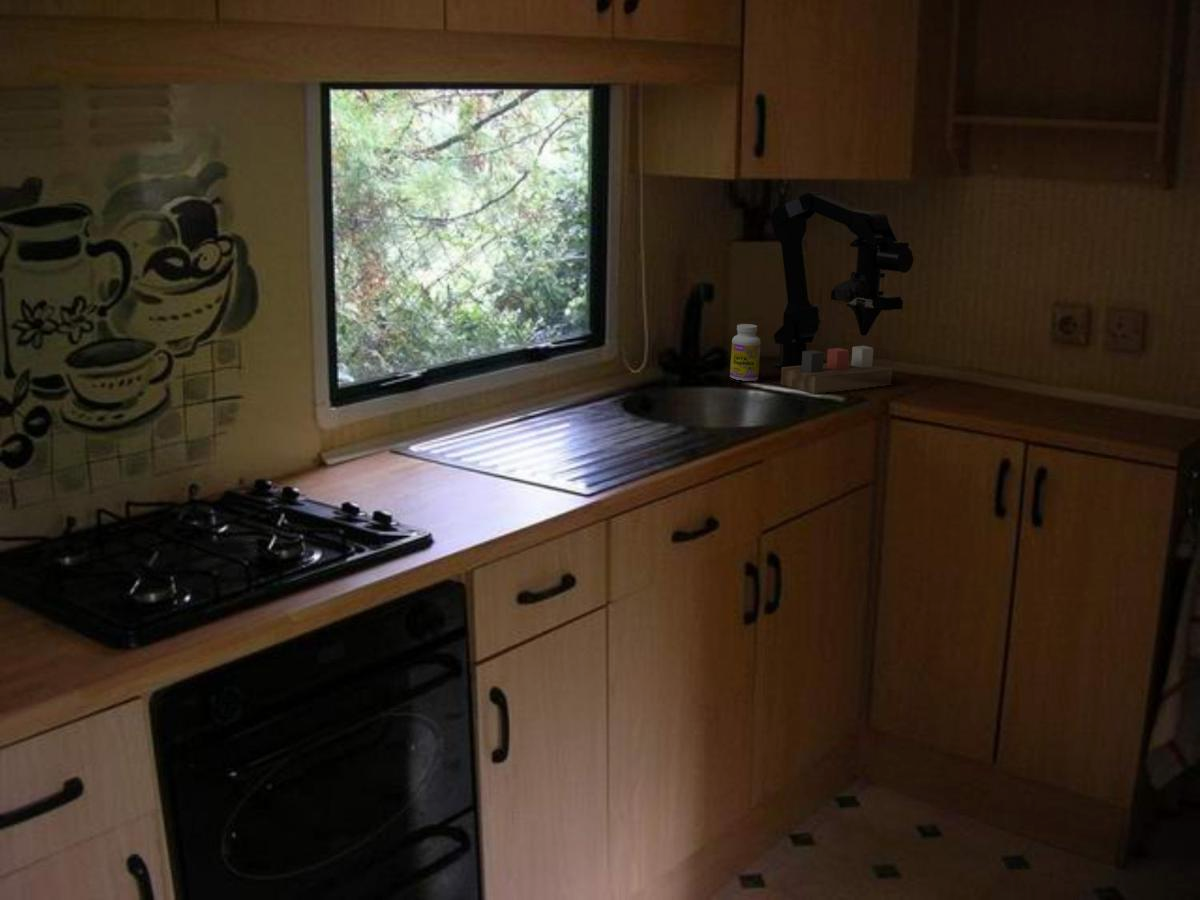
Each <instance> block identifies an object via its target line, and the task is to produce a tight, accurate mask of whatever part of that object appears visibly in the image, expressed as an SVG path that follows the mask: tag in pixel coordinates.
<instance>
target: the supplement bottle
mask: <svg viewBox="0 0 1200 900" xmlns="http://www.w3.org/2000/svg"><path fill="white" fill-rule="evenodd" d="M736 331H737V334H736V335H734V336H733V337H732V339H731V352H730V353H731V354H730V368H729V378H730V377H731V378H733V379H736V380H742V381H754V382H757V380H758V379H759V375H760V374H759V372H760V359H761V358H760V357H761V342H762V341H761V339H760V337H759V336H757V332H758V325H755V324H751V323H740V324H737V325H736ZM731 378H730V379H731Z"/></svg>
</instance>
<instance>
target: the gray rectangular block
mask: <svg viewBox="0 0 1200 900" xmlns="http://www.w3.org/2000/svg"><path fill="white" fill-rule="evenodd" d="M824 354H825V353H824V352H823V351H818V350H814V349H813V350H806V351H802V368H801V370H802V371H805V372H809V373H815V372H823V363H824V356H825V355H824Z"/></svg>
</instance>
